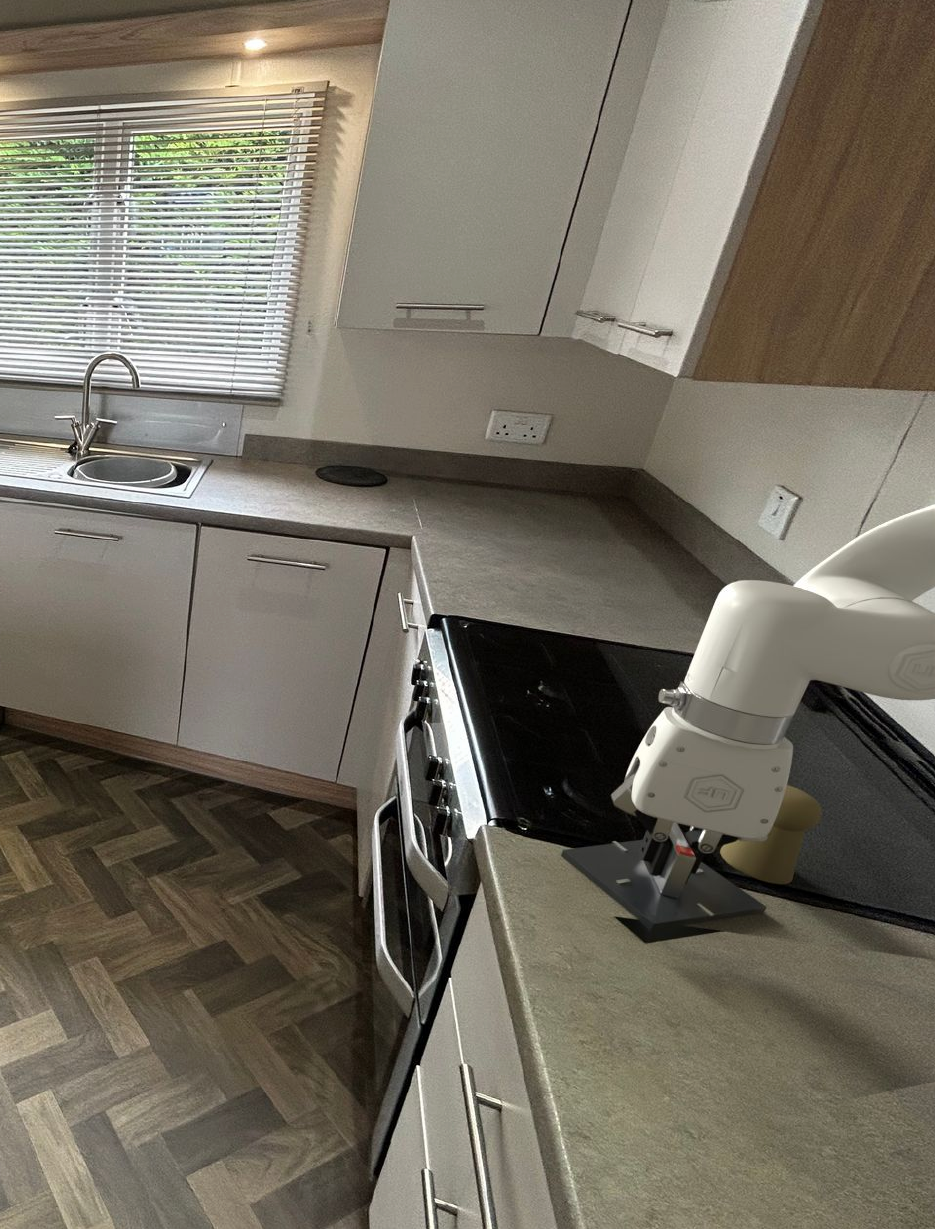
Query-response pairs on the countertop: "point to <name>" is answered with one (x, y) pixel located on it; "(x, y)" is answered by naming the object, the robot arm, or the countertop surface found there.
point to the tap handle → (676, 865)
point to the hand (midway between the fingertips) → (663, 869)
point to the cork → (777, 841)
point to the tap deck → (641, 897)
